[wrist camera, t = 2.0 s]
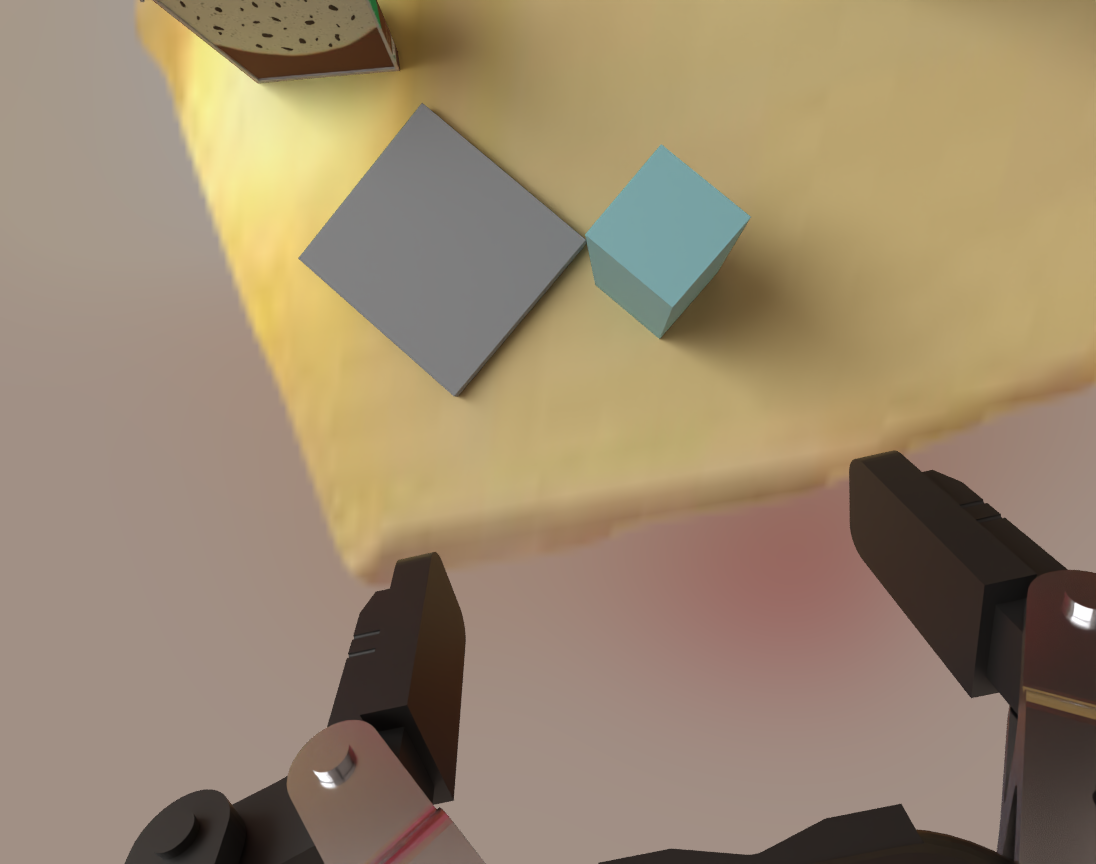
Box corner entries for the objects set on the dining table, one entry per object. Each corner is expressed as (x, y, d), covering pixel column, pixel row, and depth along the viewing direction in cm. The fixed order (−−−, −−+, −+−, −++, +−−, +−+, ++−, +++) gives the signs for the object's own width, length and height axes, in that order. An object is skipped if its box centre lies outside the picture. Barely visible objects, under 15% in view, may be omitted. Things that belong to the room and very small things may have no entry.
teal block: (651, 219, 37) (661, 144, 28) (716, 273, 37) (751, 217, 27) (595, 284, 38) (585, 234, 28) (659, 338, 37) (672, 307, 28)
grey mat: (426, 109, 39) (422, 102, 38) (586, 243, 38) (585, 239, 37) (304, 261, 40) (298, 258, 39) (457, 396, 39) (453, 396, 38)
